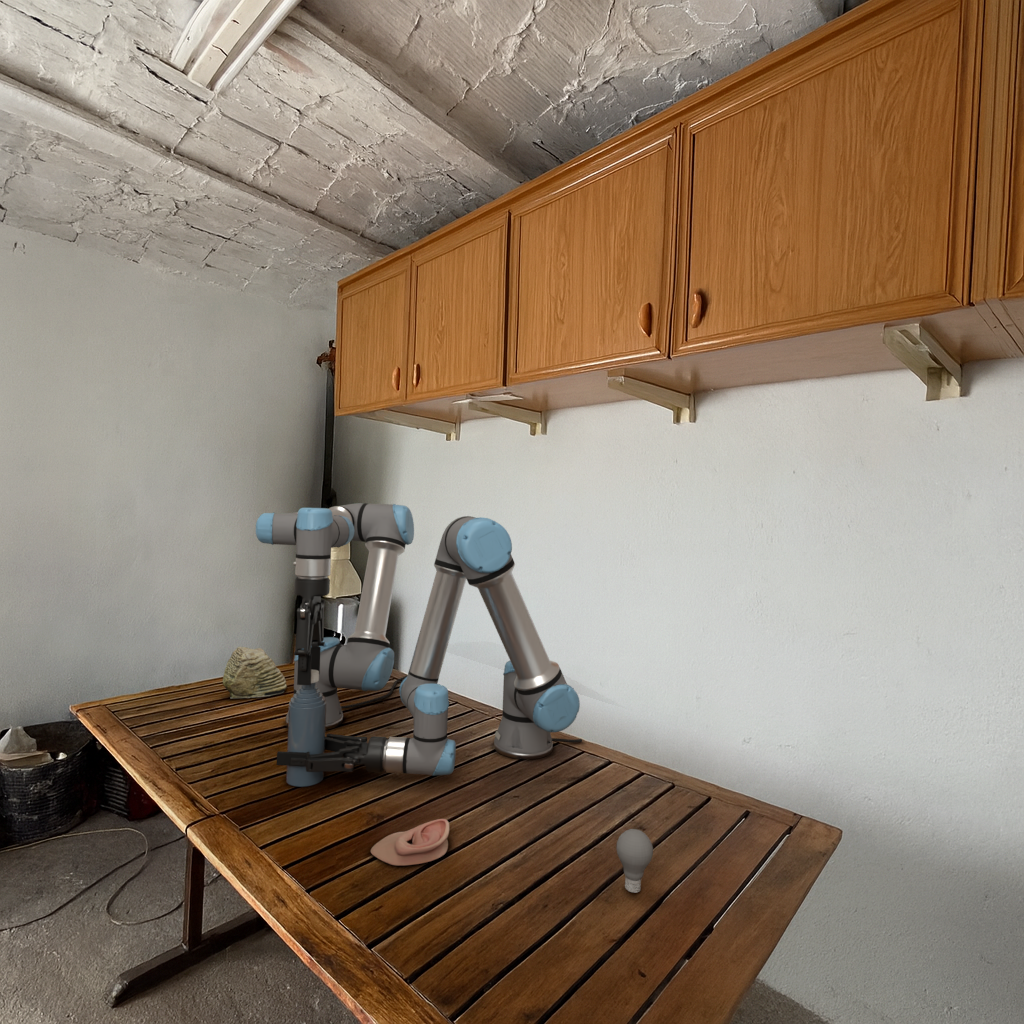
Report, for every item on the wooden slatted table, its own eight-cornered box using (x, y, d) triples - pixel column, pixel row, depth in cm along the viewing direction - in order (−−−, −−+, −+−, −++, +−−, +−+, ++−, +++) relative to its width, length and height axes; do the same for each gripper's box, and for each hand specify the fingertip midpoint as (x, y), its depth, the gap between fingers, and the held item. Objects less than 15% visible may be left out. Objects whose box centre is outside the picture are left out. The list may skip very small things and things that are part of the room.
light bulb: (610, 879, 108) (613, 822, 108) (644, 879, 109) (647, 822, 109) (619, 902, 102) (622, 840, 102) (655, 901, 103) (658, 840, 103)
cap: (307, 677, 144) (307, 668, 144) (322, 679, 143) (323, 671, 143) (294, 681, 140) (294, 672, 140) (310, 684, 139) (310, 675, 139)
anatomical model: (363, 838, 111) (389, 807, 122) (362, 860, 111) (388, 827, 122) (436, 849, 108) (455, 817, 119) (435, 872, 108) (454, 838, 119)
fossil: (218, 695, 195) (220, 647, 195) (278, 685, 208) (279, 640, 207) (228, 703, 189) (230, 653, 188) (289, 692, 201) (290, 645, 201)
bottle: (286, 788, 137) (290, 680, 136) (286, 773, 144) (289, 670, 144) (324, 784, 139) (328, 678, 139) (322, 769, 147) (326, 669, 147)
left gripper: (308, 571, 151) (304, 667, 151) (281, 582, 131) (277, 692, 132) (339, 572, 151) (336, 668, 151) (317, 583, 131) (313, 693, 132)
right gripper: (375, 792, 131) (265, 788, 131) (394, 752, 152) (299, 748, 152) (376, 757, 131) (267, 752, 131) (395, 721, 152) (300, 717, 152)
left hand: (308, 679), depth 141 cm, fingers open, 6 cm apart
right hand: (284, 750), depth 142 cm, fingers closed on bottle, 8 cm apart
